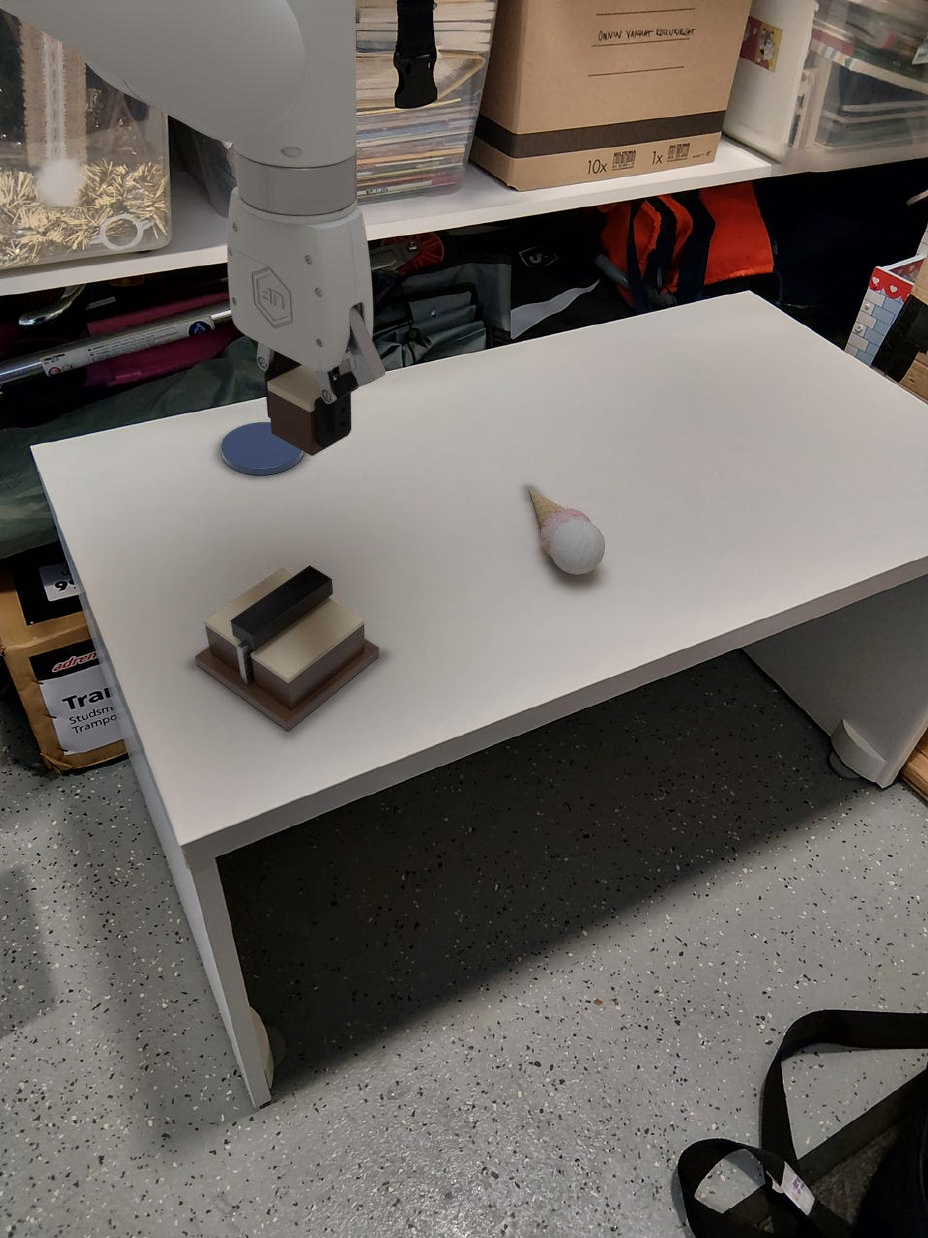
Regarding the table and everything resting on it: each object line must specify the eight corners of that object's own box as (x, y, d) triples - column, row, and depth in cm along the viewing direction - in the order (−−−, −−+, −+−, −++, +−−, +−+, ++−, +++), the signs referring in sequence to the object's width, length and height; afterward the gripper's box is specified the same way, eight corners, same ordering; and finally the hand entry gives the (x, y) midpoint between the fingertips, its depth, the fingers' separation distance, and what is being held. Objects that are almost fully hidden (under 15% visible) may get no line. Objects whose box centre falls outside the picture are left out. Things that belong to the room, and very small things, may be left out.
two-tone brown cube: (312, 456, 70) (309, 404, 67) (271, 433, 72) (266, 381, 69) (348, 435, 73) (348, 383, 70) (308, 413, 74) (305, 362, 71)
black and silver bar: (255, 692, 69) (247, 640, 65) (233, 676, 70) (224, 623, 66) (339, 627, 75) (337, 575, 71) (317, 613, 76) (314, 561, 72)
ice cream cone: (497, 502, 91) (552, 575, 79) (519, 459, 89) (579, 527, 77) (537, 516, 93) (596, 590, 81) (559, 474, 91) (624, 543, 79)
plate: (261, 485, 89) (260, 478, 88) (204, 452, 92) (203, 445, 91) (320, 450, 93) (320, 443, 93) (264, 419, 97) (264, 412, 96)
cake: (288, 731, 68) (283, 691, 65) (196, 664, 72) (187, 623, 69) (379, 656, 74) (379, 615, 71) (290, 598, 78) (286, 557, 75)
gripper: (162, 154, 60) (197, 402, 73) (354, 235, 53) (357, 493, 66) (249, 130, 65) (269, 368, 77) (438, 202, 58) (425, 450, 71)
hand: (309, 423), depth 72 cm, fingers closed on two-tone brown cube, 4 cm apart
